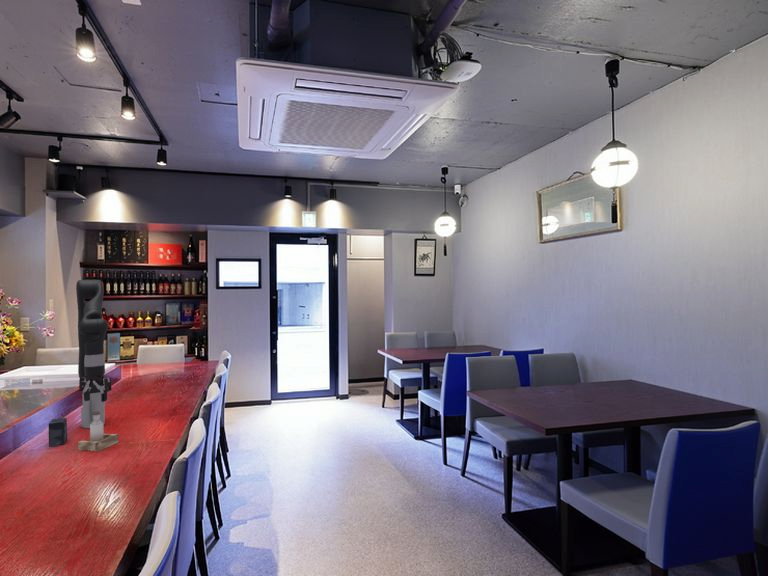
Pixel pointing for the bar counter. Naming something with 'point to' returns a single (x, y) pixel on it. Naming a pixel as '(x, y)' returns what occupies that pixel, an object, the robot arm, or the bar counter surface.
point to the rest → (98, 443)
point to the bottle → (96, 428)
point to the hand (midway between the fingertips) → (95, 401)
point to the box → (57, 432)
